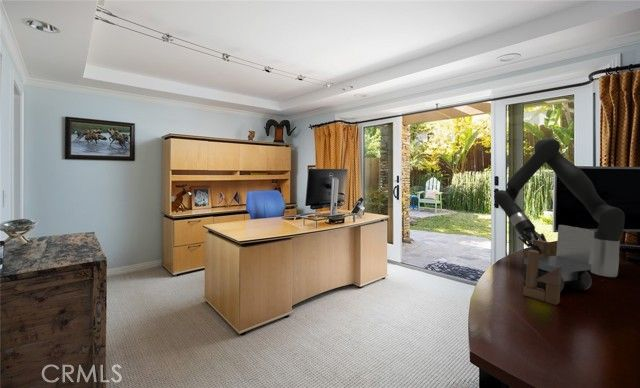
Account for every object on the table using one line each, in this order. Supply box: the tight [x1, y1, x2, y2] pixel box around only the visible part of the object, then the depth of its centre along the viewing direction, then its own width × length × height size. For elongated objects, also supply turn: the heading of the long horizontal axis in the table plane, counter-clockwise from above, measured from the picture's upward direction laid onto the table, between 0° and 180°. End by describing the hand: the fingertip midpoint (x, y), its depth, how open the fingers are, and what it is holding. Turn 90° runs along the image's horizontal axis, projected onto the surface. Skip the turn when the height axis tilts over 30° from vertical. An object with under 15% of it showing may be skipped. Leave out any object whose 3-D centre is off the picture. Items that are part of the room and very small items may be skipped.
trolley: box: [522, 224, 595, 293], centre depth 126 cm, size 20×16×25 cm
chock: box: [531, 239, 551, 257], centre depth 141 cm, size 4×5×10 cm
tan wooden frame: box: [522, 249, 562, 306], centre depth 114 cm, size 4×11×18 cm, turn 36°
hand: (543, 253), depth 139 cm, fingers closed on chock, 4 cm apart
